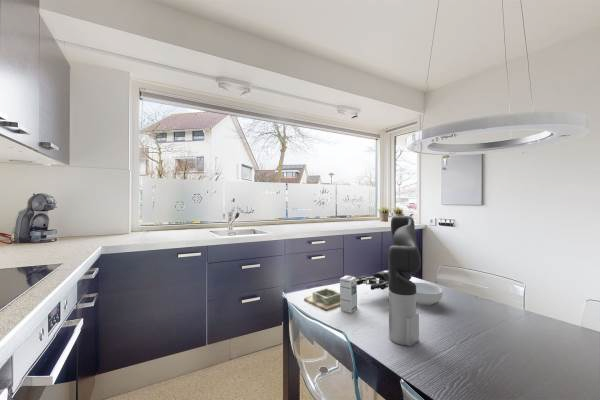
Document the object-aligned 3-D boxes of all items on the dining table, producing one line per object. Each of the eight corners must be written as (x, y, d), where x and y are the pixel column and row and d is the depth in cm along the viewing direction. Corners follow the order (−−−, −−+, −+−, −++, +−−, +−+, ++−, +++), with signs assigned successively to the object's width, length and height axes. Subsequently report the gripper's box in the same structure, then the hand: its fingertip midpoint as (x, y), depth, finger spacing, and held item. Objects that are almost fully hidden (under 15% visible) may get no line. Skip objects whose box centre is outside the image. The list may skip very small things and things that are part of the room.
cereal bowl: (451, 307, 122) (451, 291, 122) (420, 311, 118) (419, 295, 118) (425, 294, 138) (425, 280, 138) (397, 297, 134) (397, 283, 134)
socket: (350, 301, 129) (350, 293, 129) (326, 310, 119) (326, 302, 119) (327, 292, 141) (327, 285, 141) (304, 300, 132) (304, 292, 132)
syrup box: (351, 313, 116) (351, 280, 116) (339, 309, 120) (339, 277, 120) (357, 308, 121) (357, 277, 121) (345, 305, 125) (345, 274, 124)
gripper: (372, 268, 143) (352, 274, 133) (396, 274, 132) (376, 281, 122) (372, 282, 143) (352, 289, 133) (396, 289, 132) (376, 297, 122)
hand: (364, 285), depth 127 cm, fingers open, 8 cm apart
